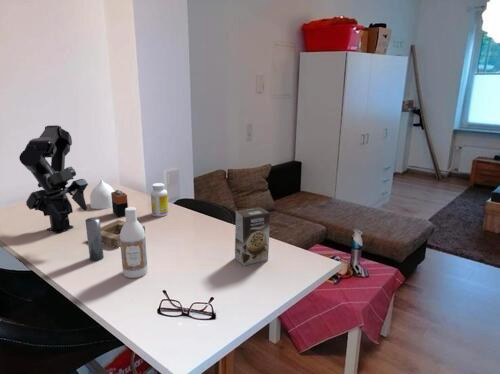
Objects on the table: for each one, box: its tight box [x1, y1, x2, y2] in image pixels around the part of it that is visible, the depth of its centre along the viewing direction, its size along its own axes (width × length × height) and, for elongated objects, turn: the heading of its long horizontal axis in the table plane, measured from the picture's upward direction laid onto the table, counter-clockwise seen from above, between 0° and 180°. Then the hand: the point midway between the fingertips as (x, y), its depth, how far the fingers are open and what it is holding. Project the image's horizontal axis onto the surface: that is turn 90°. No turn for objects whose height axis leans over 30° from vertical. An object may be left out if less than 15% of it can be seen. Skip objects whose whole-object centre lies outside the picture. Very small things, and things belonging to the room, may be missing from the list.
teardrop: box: [89, 178, 115, 210], centre depth 164 cm, size 11×11×12 cm
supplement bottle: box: [150, 182, 169, 218], centre depth 154 cm, size 7×7×13 cm
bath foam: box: [119, 206, 148, 279], centre depth 107 cm, size 7×7×20 cm
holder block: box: [100, 219, 146, 249], centre depth 134 cm, size 13×13×3 cm
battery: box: [111, 189, 129, 218], centre depth 154 cm, size 4×7×10 cm, turn 38°
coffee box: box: [234, 206, 271, 267], centre depth 117 cm, size 9×6×16 cm
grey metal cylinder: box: [85, 216, 105, 262], centre depth 117 cm, size 4×4×13 cm
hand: (73, 214), depth 118 cm, fingers open, 9 cm apart
